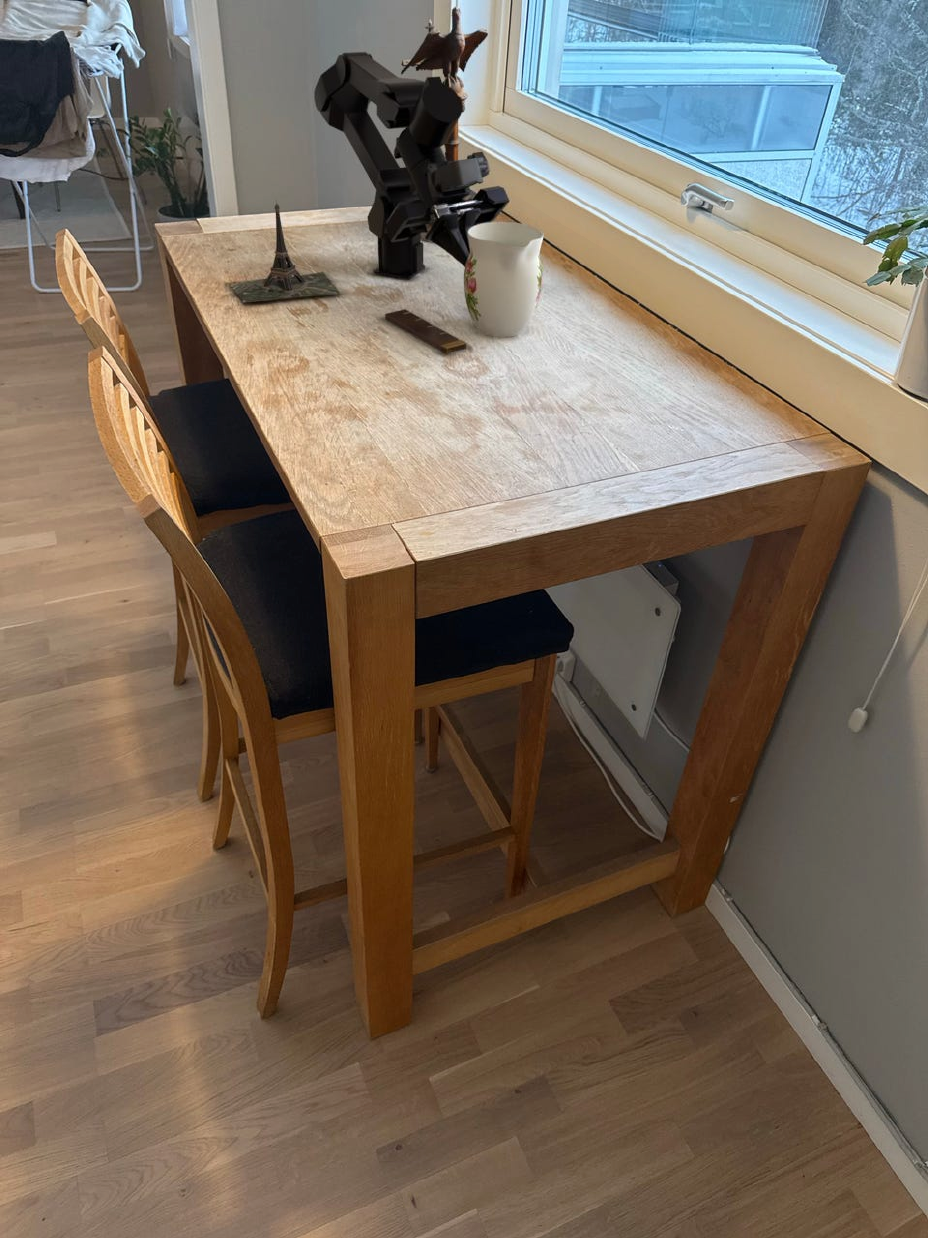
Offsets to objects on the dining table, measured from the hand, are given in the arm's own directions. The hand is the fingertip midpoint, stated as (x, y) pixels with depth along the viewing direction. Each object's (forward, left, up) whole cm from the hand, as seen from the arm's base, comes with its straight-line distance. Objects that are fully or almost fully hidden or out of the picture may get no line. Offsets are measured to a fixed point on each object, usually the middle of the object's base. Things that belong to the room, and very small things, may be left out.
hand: (472, 267), depth 129 cm
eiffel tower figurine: (-29, -4, -7) cm, 30 cm away
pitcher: (+6, -3, -7) cm, 9 cm away
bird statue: (-20, +35, -7) cm, 41 cm away
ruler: (-3, -10, -7) cm, 12 cm away
